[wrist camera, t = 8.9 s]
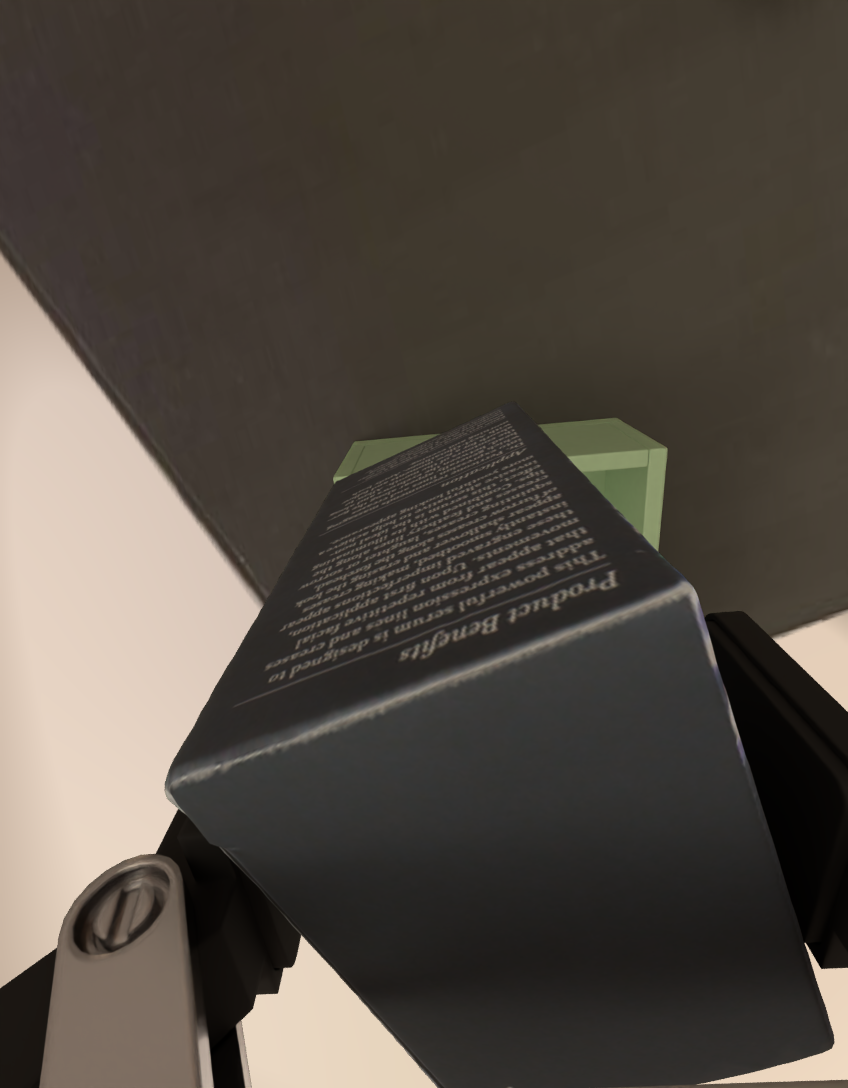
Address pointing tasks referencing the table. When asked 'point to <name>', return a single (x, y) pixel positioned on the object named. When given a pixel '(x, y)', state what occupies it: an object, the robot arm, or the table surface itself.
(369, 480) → the box
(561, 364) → the table surface
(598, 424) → the bin
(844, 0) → the table surface
